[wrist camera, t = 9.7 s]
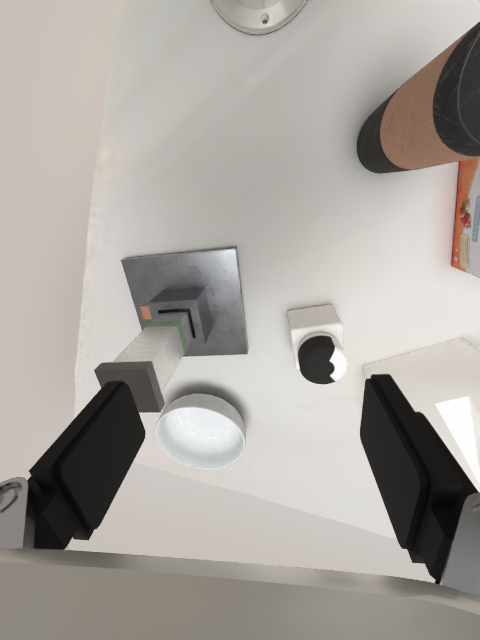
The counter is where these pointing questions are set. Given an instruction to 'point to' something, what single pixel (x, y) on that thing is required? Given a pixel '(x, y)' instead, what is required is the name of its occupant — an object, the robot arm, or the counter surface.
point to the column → (150, 360)
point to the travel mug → (429, 114)
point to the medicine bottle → (318, 343)
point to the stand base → (193, 296)
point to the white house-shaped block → (443, 395)
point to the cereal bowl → (201, 432)
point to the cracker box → (468, 219)
